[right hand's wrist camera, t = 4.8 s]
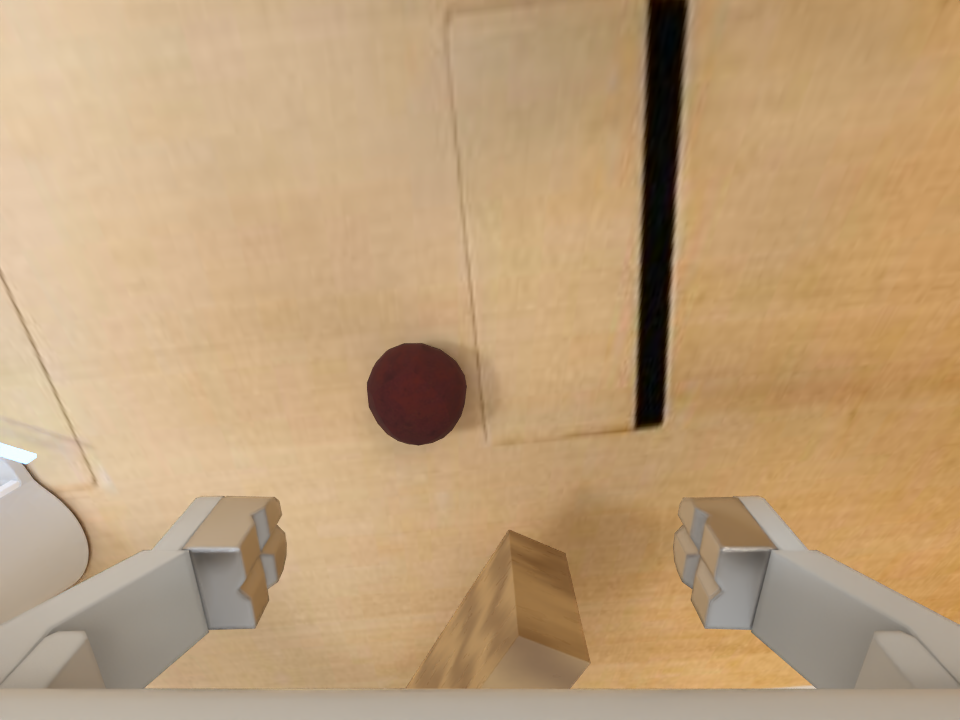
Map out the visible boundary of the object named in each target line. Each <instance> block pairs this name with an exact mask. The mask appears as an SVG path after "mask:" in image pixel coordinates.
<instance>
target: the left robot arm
mask: <svg viewBox="0 0 960 720" xmlns="http://www.w3.org/2000/svg"><path fill="white" fill-rule="evenodd" d="M36 456H37V454H34V453H31V452H27V451H24V450H21V449H18V448H15V447H11V446H8V445H5V444H2V443H0V625H1V624H3V623H4V622H6V621H8V620H10V619H12V618H14V617H16V616H18V615H20V614H22V613H24V612H26V611H27V610H29V609H31V608H33V607H35V606H37V605H39V604H41V603H43V602H45V601H47V600H49V599H51V598H52V597H54V596H56V595H57V594H59V593H61V592H63V591H64V590H66V589H68V588H69V587H71V586H72V585H74V584H75V583H76V582H77V581H78V580H79V579H80V578H81V576H82V575H83V573H84V571H85V569H86V567H87V563H88V558H89V549H88V543H87V539H86V536H85V533H84V531H83V529H82V527H81V525H80V523H79V522H78V520H77V519H76V517H75V516H74V515H73V513H72V512H71V511H70V510H69V509H68V508H67V507H66V506H65V505H64V503H62V502H61V501H60V500H59V499H58V498H57V497H55V496H54V495H53V494H52V493H50V492H49V491H47V490H46V489H45V488H43V487H42V486H41V485H40V484H38V483H37V482H36V481H35V480H34V479H33V478H32V476H31V475H30V473H29V472H28V471H27V469H26V468H25V467H24V465H23V464H22V463H24V464H27V463H29V462H30V461H32V460H33V459H35V458H36Z"/></svg>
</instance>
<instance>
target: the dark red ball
mask: <svg viewBox="0 0 960 720" xmlns="http://www.w3.org/2000/svg"><path fill="white" fill-rule="evenodd" d="M466 388H467V386H466V381H465V375H464V374H463V372H462V370H461V369H460V367H459V365H458V364H457V362H456V361H455V360H454V359H452V358H451V357H450V356H448V355H447V354H446V353H444V352H443V351H442V350H440V349H437V348H434V347H431V346H428V345H425V344H422V343H404V344H401V345H399V346H396V347H394V348H391V349H389V350H388V351H386V352H385V353H384V354H383V355H382V356H381V358H380V359H379V360H378V361H377V362H376V363H375V365H374V367H373V369H372V372H371V374H370V377H369V379H368V382H367V392H368V402H369V408H370V410H371V412H372V414H373V416H374V417H375V419H376V421H377V423H378V424H379V425H380V426H381V428H382V429H383V430H384V431H385V432H386V433H387V434H388V435H389V436H391V437H393V438H394V439H396V440H397V441H400V442H403V443H407V444H413V445H423V444H429V443H433V442H435V441H437V440H440V439H442V438H444V437H445V436H446V435H447V434H448V433H449V432H450V431H452V429H453V428H454V426H455V425H456V423H457V421H458V420H459V418H460V417H461V414H462V411H463V408H464V404H465V396H466Z"/></svg>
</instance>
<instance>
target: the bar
mask: <svg viewBox="0 0 960 720" xmlns="http://www.w3.org/2000/svg"><path fill="white" fill-rule="evenodd" d="M589 664H590V659H589V654H588V650H587V646H586V641H585V637H584V633H583V628H582V624H581V620H580V615H579V611H578V606H577V602H576V598H575V593H574V589H573V585H572V580H571V576H570V572H569V567H568V563H567V559H566V554H565V553H563V552H561V551H559V550H556V549H554V548H551V547H549V546H547V545H544V544H542V543H540V542H537V541H535V540H532V539H530V538H528V537H525V536H523V535H521V534H518V533H516V532H514V531H511V530H508V532H507V533H506V535H505V536H504V538H503V539H502V541H501V543H500V544H499V546H498V547H497V549H496V550H495V552H494V553H493V555H492V556H491V558H490V559H489V561H488V563H487V564H486V566H485V567H484V569H483V570H482V572H481V573H480V575H479V576H478V578H477V579H476V581H475V583H474V584H473V586H472V587H471V589H470V590H469V592H468V593H467V595H466V596H465V598H464V599H463V601H462V603H461V604H460V606H459V607H458V609H457V610H456V612H455V613H454V615H453V616H452V618H451V619H450V621H449V623H448V624H447V626H446V627H445V629H444V630H443V632H442V633H441V635H440V636H439V638H438V639H437V641H436V643H435V644H434V646H433V647H432V649H431V650H430V652H429V653H428V655H427V656H426V658H425V659H424V661H423V663H422V664H421V666H420V667H419V669H418V670H417V672H416V673H415V675H414V676H413V678H412V679H411V681H410V682H409V684H408V686H407V687H406V689H570V688H571V687H572V685H573V684H574V683H575V682H576V681H577V679H578V678H579V677H580V676H581V674H582V673H583V672H584V671H585V669H586V668H587V667H588V666H589Z"/></svg>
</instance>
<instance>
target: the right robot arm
mask: <svg viewBox="0 0 960 720" xmlns="http://www.w3.org/2000/svg"><path fill="white" fill-rule="evenodd" d="M281 516H282V512H281V507H280V502H279V500H278V499H276V498H275V497H247V496H226V497H225V496H201V497H198V498H196V499H195V500H194V501H193V502H192V503H191V504H190V506H189V507H188V508H187V509H186V510H185V511H184V513H183V514H182V515H181V516H180V517H179V519H178V520H177V521H176V522H175V523H174V524H173V526H172V527H171V528H170V529H169V530H168V531H167V533H166V534H165V535H164V536H163V537H162V538H161V540H160V541H159V542H158V543H157V544H156V545H155V547H154V548H153V549H152V550H143V551H141V552H139V553H137V554H135V555H133V556H131V557H129V558H127V559H125V560H123V561H122V562H120V563H118V564H116V565H114V566H112V567H110V568H108V569H106V570H104V571H102V572H100V573H98V574H97V575H95V576H93V577H91V578H89V579H87V580H85V581H83V582H81V583H79V584H77V585H75V586H74V587H72V588H70V589H68V590H66V591H64V592H62V593H60V594H58V595H56V596H54V597H52V598H51V599H49V600H47V601H45V602H43V603H41V604H39V605H37V606H35V607H33V608H31V609H29V610H27V611H26V612H24V613H22V614H20V615H18V616H16V617H14V618H12V619H10V620H8V621H6V622H4V623H3V624H1V625H0V720H960V625H959V624H957V623H955V622H953V621H951V620H949V619H947V618H946V617H944V616H942V615H940V614H938V613H936V612H934V611H932V610H930V609H928V608H926V607H925V606H923V605H921V604H919V603H917V602H915V601H913V600H911V599H909V598H907V597H905V596H903V595H902V594H900V593H898V592H896V591H894V590H892V589H890V588H888V587H886V586H884V585H882V584H881V583H879V582H877V581H875V580H873V579H871V578H869V577H867V576H865V575H863V574H861V573H859V572H858V571H856V570H854V569H852V568H850V567H848V566H846V565H844V564H842V563H840V562H838V561H837V560H835V559H833V558H831V557H829V556H827V555H825V554H823V553H821V552H819V551H817V550H808V549H807V548H806V547H805V545H804V544H803V543H802V542H801V541H800V540H799V538H798V537H797V536H796V535H795V534H794V533H793V531H792V530H791V529H790V528H789V527H788V526H787V524H786V523H785V522H784V521H783V520H782V519H781V517H780V516H779V515H778V514H777V513H776V512H775V510H774V509H773V508H772V507H771V506H770V505H769V503H768V502H767V501H766V500H765V499H764V498H762V497H760V496H733V497H699V498H683V499H682V501H681V503H680V506H679V511H678V516H679V518H680V519H681V521H682V523H683V525H682V526H681V527H680V528H679V529H678V530H677V531H676V532H675V536H674V544H673V551H674V561H675V565H676V568H677V572H678V574H679V576H680V578H681V580H682V582H683V583H685V584H686V585H687V586H689V587H690V588H691V589H693V590H692V596H691V601H692V603H693V605H694V607H695V609H696V611H697V613H698V615H699V618H700V620H701V622H702V624H703V626H704V628H705V629H741V630H751V632H752V633H753V634H754V635H755V636H756V637H758V638H759V639H760V640H761V641H762V642H763V643H764V644H766V645H767V646H768V647H769V648H770V649H771V650H773V651H774V652H775V653H776V654H777V655H778V656H780V657H781V658H782V659H783V660H784V661H785V662H786V663H788V664H789V665H790V666H791V667H792V668H793V669H795V670H796V671H797V672H798V673H799V674H800V675H802V676H803V677H804V678H805V679H806V680H807V681H809V682H810V683H811V684H812V685H813V686H814V687H815V688H817V689H144V688H145V687H146V686H147V685H148V684H149V683H150V682H152V681H153V680H154V679H155V678H156V677H157V676H159V675H160V674H161V673H162V672H163V671H164V670H166V669H167V668H168V667H169V666H170V665H171V664H173V663H174V662H175V661H176V660H177V659H178V658H180V657H181V656H182V655H183V654H184V653H185V652H186V651H188V650H189V649H190V648H191V647H192V646H193V645H195V644H196V643H197V642H198V641H199V640H200V639H202V638H203V637H204V636H205V635H206V634H207V633H209V631H208V630H219V629H253V628H256V626H257V624H258V622H259V620H260V618H261V616H262V614H263V611H264V609H265V607H266V605H267V603H268V601H269V596H268V590H267V589H269V588H270V587H271V586H273V585H274V584H275V583H277V582H278V580H279V578H280V576H281V574H282V572H283V569H284V564H285V560H286V553H287V542H286V536H285V532H284V531H283V530H282V529H281V528H280V527H279V526H278V525H277V523H278V521H279V519H280V518H281Z"/></svg>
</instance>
